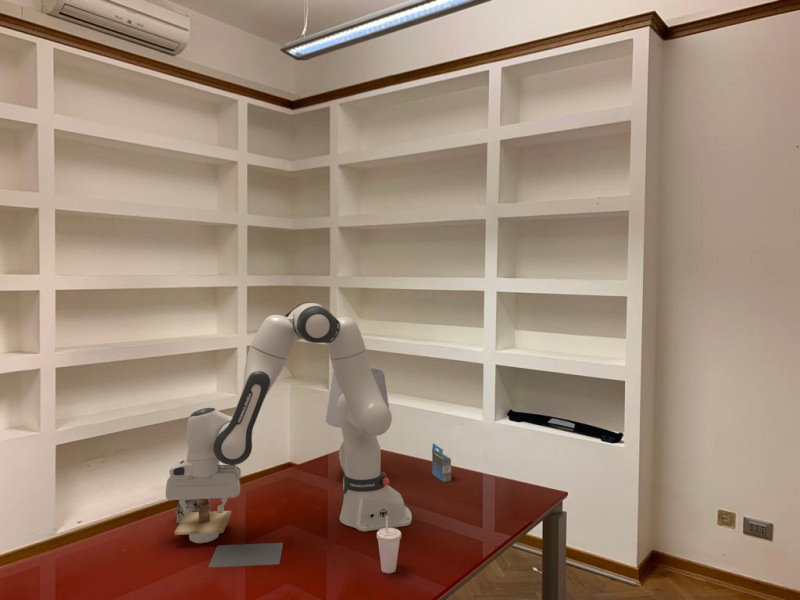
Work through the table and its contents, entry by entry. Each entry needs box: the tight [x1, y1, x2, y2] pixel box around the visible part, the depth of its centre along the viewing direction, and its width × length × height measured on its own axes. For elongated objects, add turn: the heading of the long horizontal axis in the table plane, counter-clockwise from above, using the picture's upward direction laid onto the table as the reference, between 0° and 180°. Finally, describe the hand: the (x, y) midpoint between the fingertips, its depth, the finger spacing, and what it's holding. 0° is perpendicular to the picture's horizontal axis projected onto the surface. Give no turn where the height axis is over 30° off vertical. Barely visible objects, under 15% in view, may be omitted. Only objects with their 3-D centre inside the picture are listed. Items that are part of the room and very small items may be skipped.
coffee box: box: [176, 499, 211, 524], centre depth 180 cm, size 9×6×16 cm
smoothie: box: [376, 516, 402, 574], centre depth 150 cm, size 6×6×14 cm
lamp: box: [325, 367, 390, 474], centre depth 215 cm, size 24×24×40 cm
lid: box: [174, 505, 232, 536], centre depth 167 cm, size 13×13×5 cm
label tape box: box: [431, 442, 452, 483], centre depth 217 cm, size 9×4×12 cm, turn 23°
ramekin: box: [188, 533, 220, 544], centre depth 167 cm, size 9×9×4 cm
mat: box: [208, 542, 284, 568], centre depth 157 cm, size 18×12×1 cm, turn 96°
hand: (203, 512), depth 167 cm, fingers open, 8 cm apart
